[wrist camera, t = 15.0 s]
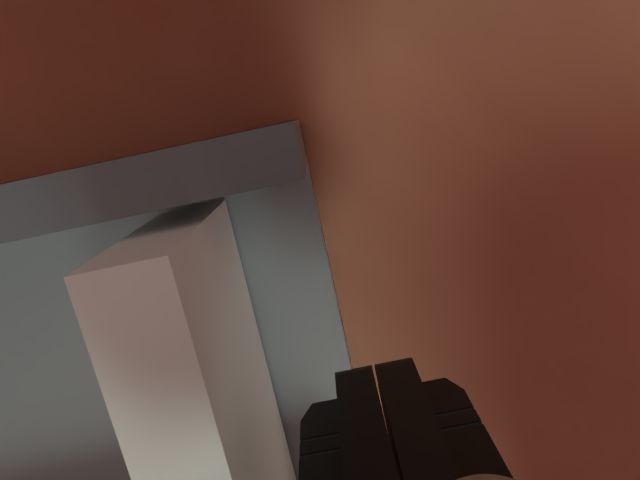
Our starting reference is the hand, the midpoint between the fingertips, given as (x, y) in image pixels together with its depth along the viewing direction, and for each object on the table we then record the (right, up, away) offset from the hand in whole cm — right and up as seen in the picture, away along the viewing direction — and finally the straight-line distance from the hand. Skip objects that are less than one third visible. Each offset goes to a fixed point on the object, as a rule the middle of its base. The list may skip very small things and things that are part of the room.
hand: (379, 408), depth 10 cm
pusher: (-3, 0, +3) cm, 4 cm away
